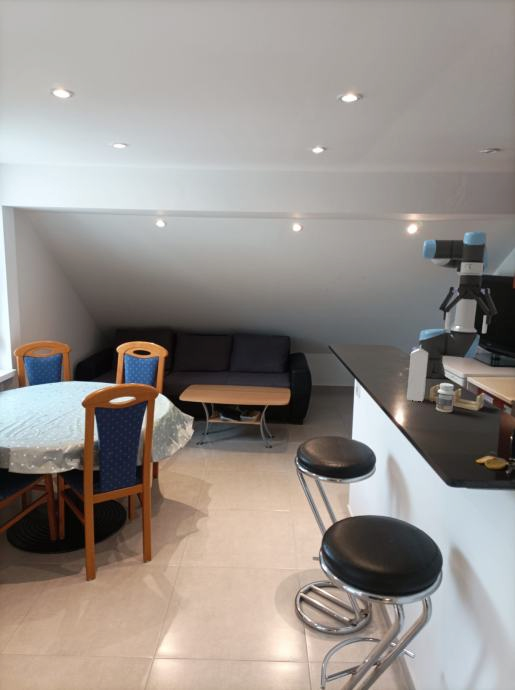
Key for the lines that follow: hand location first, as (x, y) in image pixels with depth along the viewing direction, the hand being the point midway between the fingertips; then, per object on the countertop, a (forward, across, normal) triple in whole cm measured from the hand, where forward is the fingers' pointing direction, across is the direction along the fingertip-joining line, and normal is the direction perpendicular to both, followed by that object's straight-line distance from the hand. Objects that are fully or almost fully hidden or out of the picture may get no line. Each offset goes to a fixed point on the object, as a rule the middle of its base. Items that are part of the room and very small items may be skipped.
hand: (464, 331), depth 171 cm
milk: (+29, -14, -6) cm, 33 cm away
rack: (+29, -1, 0) cm, 29 cm away
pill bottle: (+29, 0, -13) cm, 32 cm away
